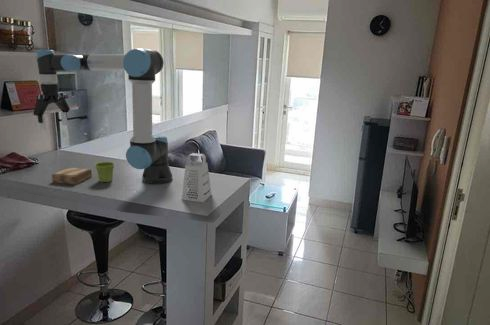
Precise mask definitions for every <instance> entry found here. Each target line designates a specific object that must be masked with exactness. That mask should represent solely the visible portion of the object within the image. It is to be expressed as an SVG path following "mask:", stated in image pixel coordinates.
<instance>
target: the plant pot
mask: <svg viewBox="0 0 490 325" xmlns="http://www.w3.org/2000/svg"><path fill="white" fill-rule="evenodd" d="M94 167H95V169H96V171H97V175H98V179H99V182H101V183H105V182H106V183H110V182H112V181H113V177H114V176H113V175H114V167H115V162H110V161H101V162H97V163H95V164H94Z"/></svg>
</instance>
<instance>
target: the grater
mask: <svg viewBox="0 0 490 325" xmlns="http://www.w3.org/2000/svg"><path fill="white" fill-rule="evenodd" d="M191 156H195V157H200V158H202V161H195V160H191V159H192V158H191ZM186 163H187V164H185V168H184V177H183V184H182V185H183V186H182V194H181V200H182V201H183V200H185V201H191V202H192V201H193V202H200V203H205V201H207V199H208V198H210V197H211V196H212V194H213V192H212V186H211V185H212V184H211V179H210V173H209V167H208V166H209V165H208V164H209V163H208V162H207V156H206V155H205V154H204V153H195V152H192V153H191V154H189V155H188V156H187V158H186Z"/></svg>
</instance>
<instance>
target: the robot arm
mask: <svg viewBox="0 0 490 325" xmlns="http://www.w3.org/2000/svg"><path fill="white" fill-rule="evenodd" d="M36 62H37V68H38V76H39V77H38V78H39V82H40V91H41V92H42V94H37V95H36V100H35V102H36V103H35V106H34V110H33V114H32V115H33V116H36V117H37V122H38V123H39V128H40V129H39V130H40V131H41V130H42V131H47V126H46V118H45V115H44V114H45V113H46V112H45V111H46V110H47V108H48V106H49V105H50V104H55V105H56V106H57V108H59V110H60V111H61V112H60V117H61V125H62V126H68V113H69V111H70V110H71V108H70V106H69V104H68V103H67V101H66V99H65V96H64V92H59V84H58V74H57V72H59V71H60V72H70V73H71V72H77V71H79V72H80V71H126V74H127V75H128V76H127V77H128V78H127V79H128V81H129V82H130V83H131V87H132V88H131V89H132V90H131V93H132V132H133V133H132V134H133V136H132V137H131V138H130V139H129V147H128V148H127V149H126V152H125V160H126V162H127V163H128V164H129V165H130V166H131V168H134V169H136V170H143V172H142V175H141V176H142V177H141V178H142V182H144V183H146V184H151V185H152V184H155V185H159V184H165V183H168V182H171V181H172V180H173V173H172V171H171V168H170V166H169V145H168V144H169V143H168V138H167V136H165V135H155V134H153V83H155V82H156V75H158V74H159V73H160V72H161V71H162V70H163V68H164V59H163V56H162V54H161V53H160V52H159V51H157V50H155V49H152V48H132V49H130V50H129V51H127V52H126V53H124V54H122V53H119V54H118V53H116V54H115V53H114V54H113V53H111V54H110V53H109V54H107V53H106V54H69V53H66V54H59V53H58V54H55V50H53V49H38V50H36Z"/></svg>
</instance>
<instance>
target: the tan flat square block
mask: <svg viewBox="0 0 490 325" xmlns="http://www.w3.org/2000/svg"><path fill="white" fill-rule="evenodd" d="M92 176H93V174H92V169H91V168H81V167H80V168H79V167H72V166H71V167H67V168H64V169H62V170H59V171H57V172H54V173H53V174H51V177H52V183H58V184H67V185H68V184H69V185H78V184H80V183H82V182H84V181H86V180H88V179H90V178H92Z"/></svg>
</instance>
